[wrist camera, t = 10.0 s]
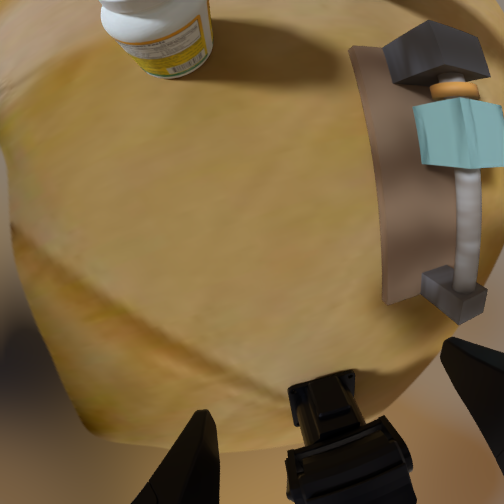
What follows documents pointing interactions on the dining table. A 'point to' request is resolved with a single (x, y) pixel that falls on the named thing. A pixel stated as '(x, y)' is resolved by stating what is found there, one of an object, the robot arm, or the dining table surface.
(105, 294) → the dining table surface
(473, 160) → the sleeve
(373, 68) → the rod stand
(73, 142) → the dining table surface
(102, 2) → the supplement bottle
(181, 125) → the dining table surface
